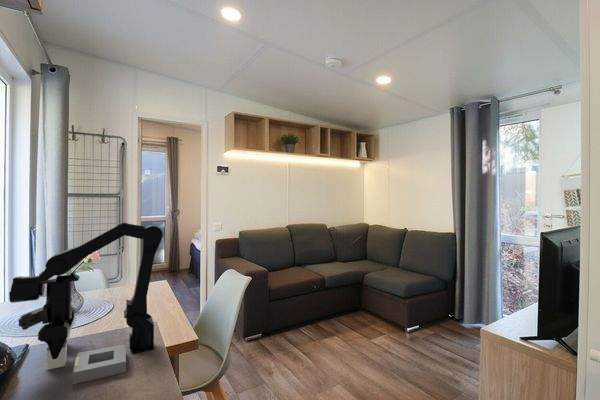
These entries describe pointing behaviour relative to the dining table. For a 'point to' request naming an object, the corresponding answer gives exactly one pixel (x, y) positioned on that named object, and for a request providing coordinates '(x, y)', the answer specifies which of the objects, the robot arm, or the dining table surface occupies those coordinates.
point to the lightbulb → (71, 328)
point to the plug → (60, 360)
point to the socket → (99, 363)
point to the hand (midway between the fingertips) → (57, 351)
